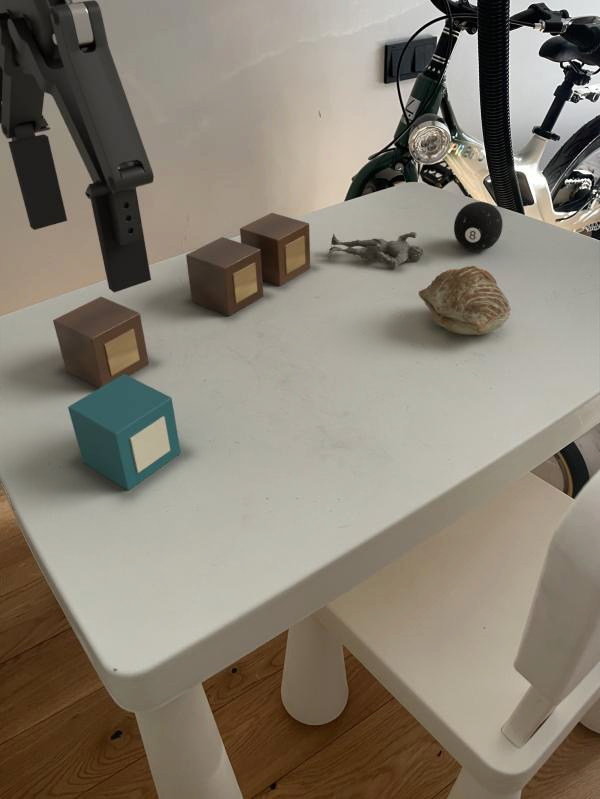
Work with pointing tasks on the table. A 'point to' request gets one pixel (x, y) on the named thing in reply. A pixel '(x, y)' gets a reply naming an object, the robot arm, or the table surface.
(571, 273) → the table surface
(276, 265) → the walnut block
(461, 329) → the seashell
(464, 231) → the billiard ball
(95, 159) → the robot arm
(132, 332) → the walnut block
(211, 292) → the walnut block
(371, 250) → the figurine
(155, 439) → the teal block
